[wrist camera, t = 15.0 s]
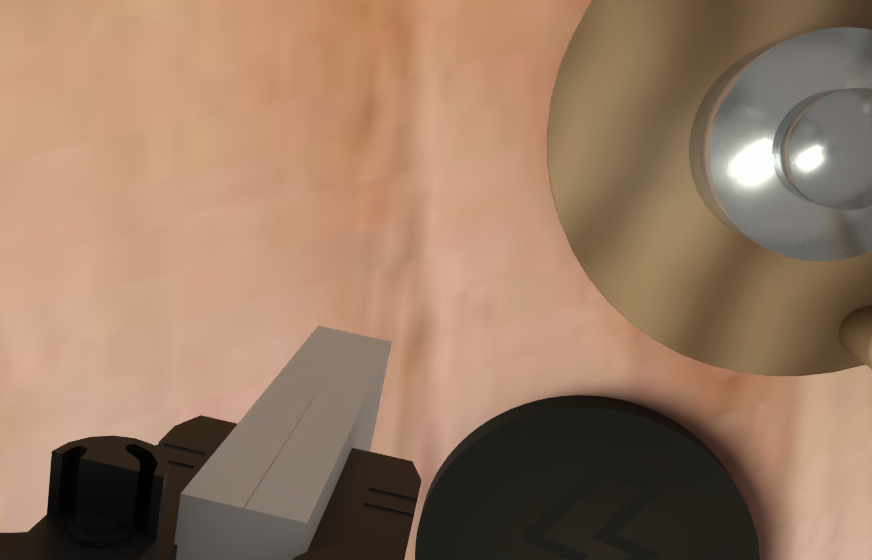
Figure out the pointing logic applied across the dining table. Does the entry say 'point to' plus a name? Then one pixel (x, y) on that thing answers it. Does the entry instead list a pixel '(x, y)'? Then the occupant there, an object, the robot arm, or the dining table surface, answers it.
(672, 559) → the wireless charger
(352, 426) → the robot arm
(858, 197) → the cover
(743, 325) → the turntable
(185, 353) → the dining table surface
